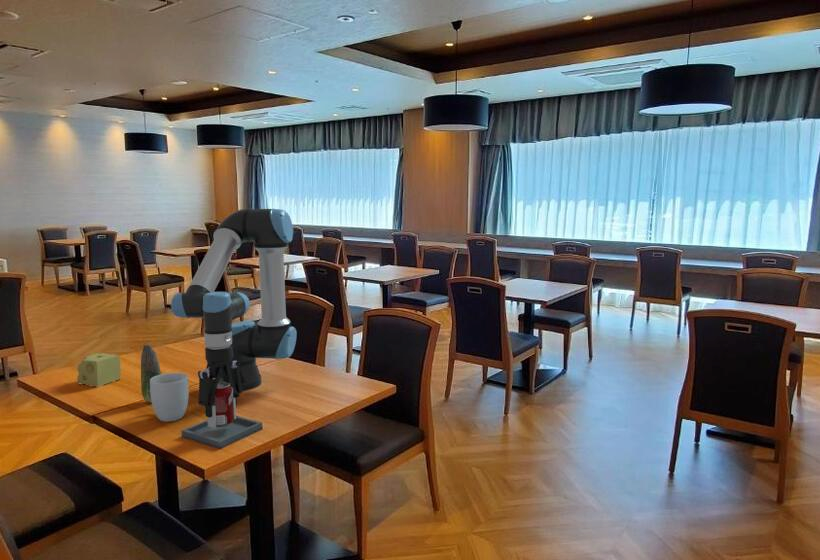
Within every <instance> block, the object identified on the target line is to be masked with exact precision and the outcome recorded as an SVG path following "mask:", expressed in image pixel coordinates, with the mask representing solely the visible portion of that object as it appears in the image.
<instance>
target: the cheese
mask: <svg viewBox="0 0 820 560" xmlns="http://www.w3.org/2000/svg"><path fill="white" fill-rule="evenodd" d="M121 370H122V369H121V359H120V357H119V355H117V354H113V353H112V354H111V353H105V352H97V353H92V354H90V355H86V356H85V357H84V358H83V360H81V362H80V363H78V365H77V373H78V375H77V376H76V377H77V379H76V380H77V384H78V383H81V384H87V385H92V386H97V387H98V386H101V385H104V384H106V385H108V384H107V383H109V384H111V383H110V382H112V383H114V382H113V381H115V382H117V381H116V380H118V381H120V380H121V376H122V375H121V374H122V373H121V372H122V371H121ZM119 379H120V380H119ZM87 385H86V386H87ZM92 386H91V387H92ZM104 386H105V385H104ZM97 387H96V388H97ZM101 387H102V386H101ZM98 388H99V387H98Z"/></svg>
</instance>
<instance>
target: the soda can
mask: <svg viewBox="0 0 820 560" xmlns="http://www.w3.org/2000/svg"><path fill="white" fill-rule="evenodd" d="M213 405H215V409H216V427H225V426H228V425H230V424H231V423H233V422H234V403H233V388H232V387H231V386H230V383H226V382H224V381H223V382H219V383H218V384H217V389H216V393H215V397H214V402H213Z"/></svg>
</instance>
